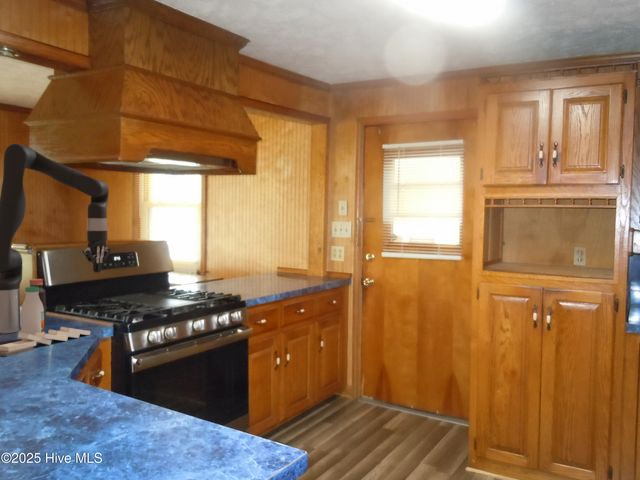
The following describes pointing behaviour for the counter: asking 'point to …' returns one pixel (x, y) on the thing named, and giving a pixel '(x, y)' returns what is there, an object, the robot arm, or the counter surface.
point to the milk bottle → (32, 313)
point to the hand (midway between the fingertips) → (97, 272)
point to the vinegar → (40, 293)
